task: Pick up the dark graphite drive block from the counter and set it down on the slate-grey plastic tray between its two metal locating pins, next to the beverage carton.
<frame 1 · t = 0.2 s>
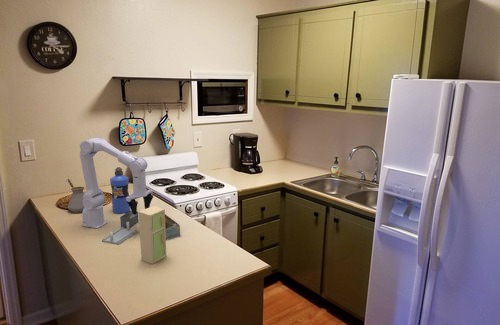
hand: (140, 211, 167), 10 cm above the counter, tool pointing down, fingers open, 7 cm apart
coffee pot: (76, 208, 198), on the counter
drive: (130, 225, 176), on the counter
toy refrigerator: (154, 258, 143), on the counter
water bottle: (121, 211, 194), on the counter
tray: (120, 236, 163), on the counter
beverage carton: (164, 232, 170), on the counter
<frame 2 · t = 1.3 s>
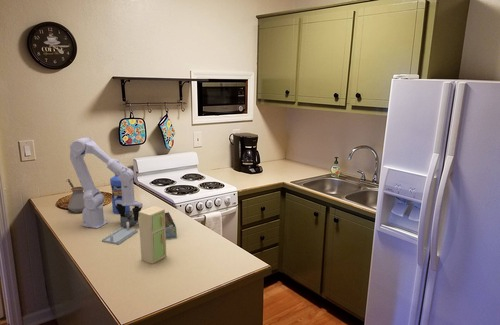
hand: (129, 219, 175), 3 cm above the counter, tool pointing down, fingers open, 7 cm apart
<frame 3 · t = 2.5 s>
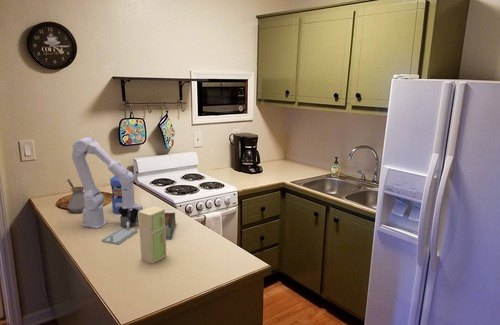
hand: (129, 222, 175), 2 cm above the counter, tool pointing down, fingers closed on drive, 4 cm apart
drive: (130, 225, 176), on the counter, touching gripper
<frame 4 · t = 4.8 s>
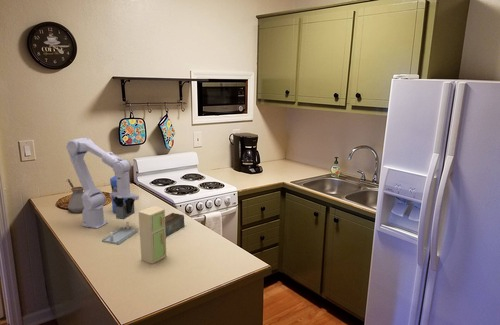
hand: (125, 212, 168), 9 cm above the counter, tool pointing down, fingers closed on drive, 4 cm apart
drive: (125, 215, 169), point 7 cm above the counter, touching gripper
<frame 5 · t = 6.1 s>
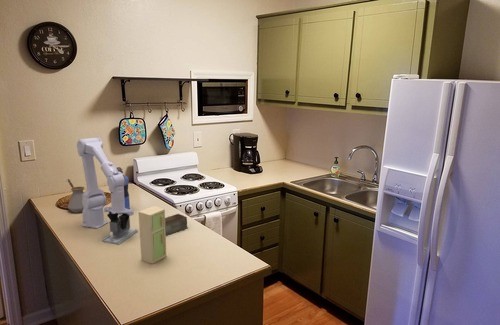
hand: (119, 227, 162), 4 cm above the counter, tool pointing down, fingers closed on drive, 4 cm apart
drive: (120, 231, 162), point 3 cm above the counter, touching gripper
when the fingers open (4 cm above the counter, at t = 7.1 s): drive drops 1 cm, resting on tray.
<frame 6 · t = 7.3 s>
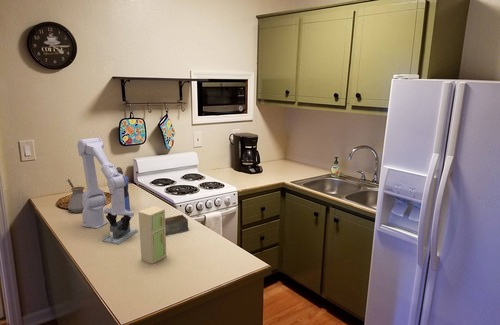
hand: (119, 229, 162), 4 cm above the counter, tool pointing down, fingers open, 6 cm apart
drive: (120, 234, 163), point 1 cm above the counter, touching tray
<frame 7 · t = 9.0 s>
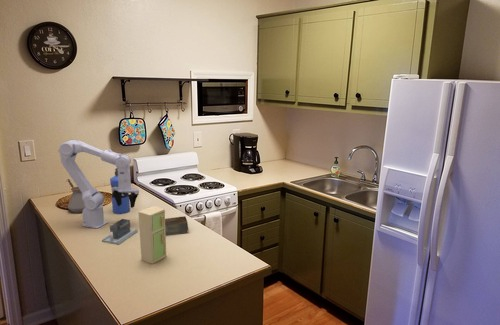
hand: (126, 206, 174), 10 cm above the counter, tool pointing down, fingers open, 7 cm apart
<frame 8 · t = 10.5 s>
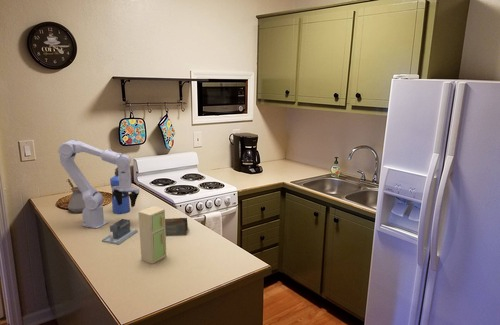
hand: (126, 205, 175), 10 cm above the counter, tool pointing down, fingers open, 7 cm apart
at the end: drive 0.3 cm off-centre on the tray, point 0.8 cm above the tray's base; drive tilted 0°; the gripper is holding nothing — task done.
